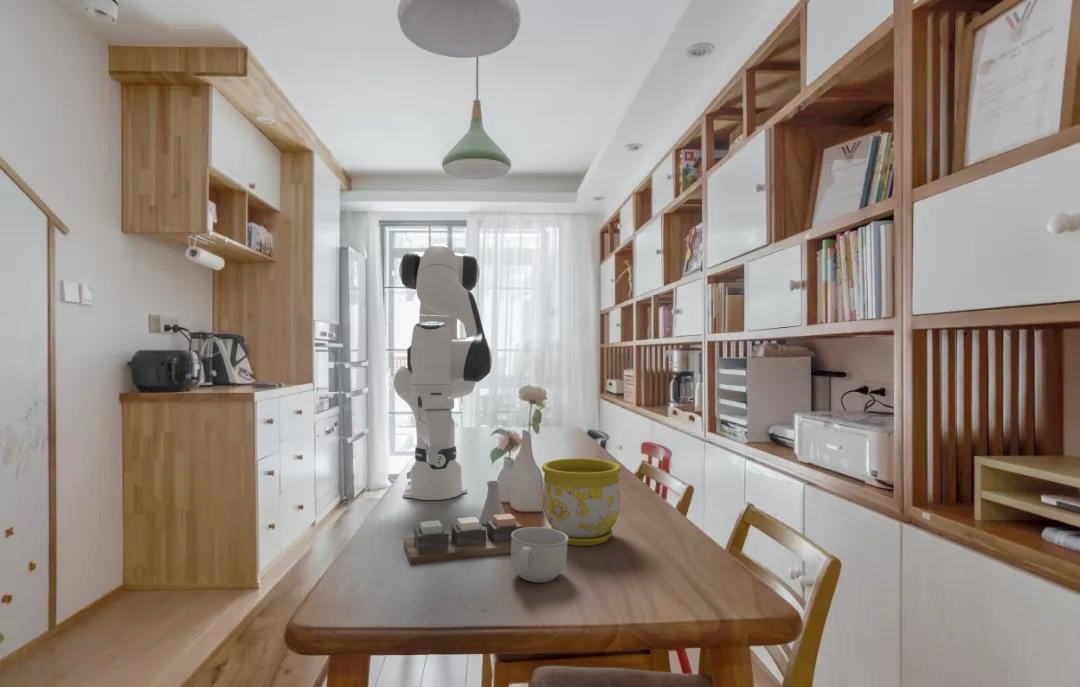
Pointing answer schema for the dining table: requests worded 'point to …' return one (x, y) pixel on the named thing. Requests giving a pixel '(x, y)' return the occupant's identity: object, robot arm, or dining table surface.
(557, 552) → the teacup
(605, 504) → the flowerpot
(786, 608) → the dining table surface
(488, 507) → the flask
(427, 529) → the sage button
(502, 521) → the terracotta button
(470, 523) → the cream button
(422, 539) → the button console
